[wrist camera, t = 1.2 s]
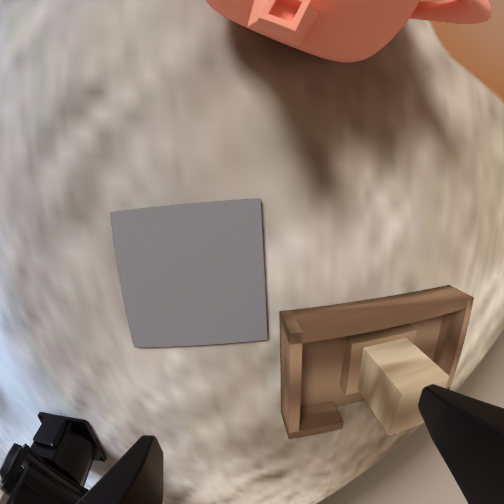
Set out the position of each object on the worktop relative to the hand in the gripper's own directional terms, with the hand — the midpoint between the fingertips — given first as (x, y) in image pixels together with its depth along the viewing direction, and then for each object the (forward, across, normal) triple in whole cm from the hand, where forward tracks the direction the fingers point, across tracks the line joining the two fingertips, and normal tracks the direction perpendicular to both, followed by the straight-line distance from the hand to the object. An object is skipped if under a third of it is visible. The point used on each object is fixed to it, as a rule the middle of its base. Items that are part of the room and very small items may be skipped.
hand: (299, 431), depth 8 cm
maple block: (+11, -9, +7) cm, 16 cm away
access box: (+13, -9, +7) cm, 18 cm away
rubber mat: (+13, +4, -1) cm, 14 cm away
